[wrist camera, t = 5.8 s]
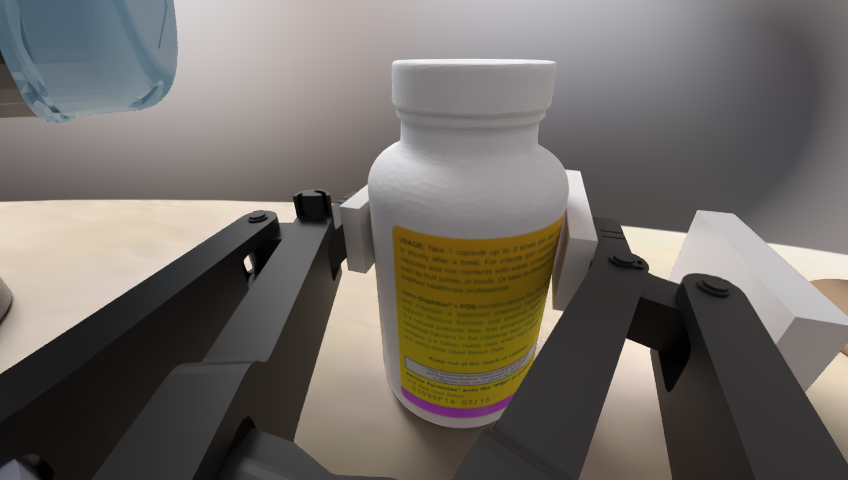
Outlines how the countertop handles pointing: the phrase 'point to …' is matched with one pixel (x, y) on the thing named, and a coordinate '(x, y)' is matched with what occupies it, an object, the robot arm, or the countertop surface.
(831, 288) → the coaster
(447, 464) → the countertop surface
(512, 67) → the supplement bottle
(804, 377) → the tile
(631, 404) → the countertop surface
